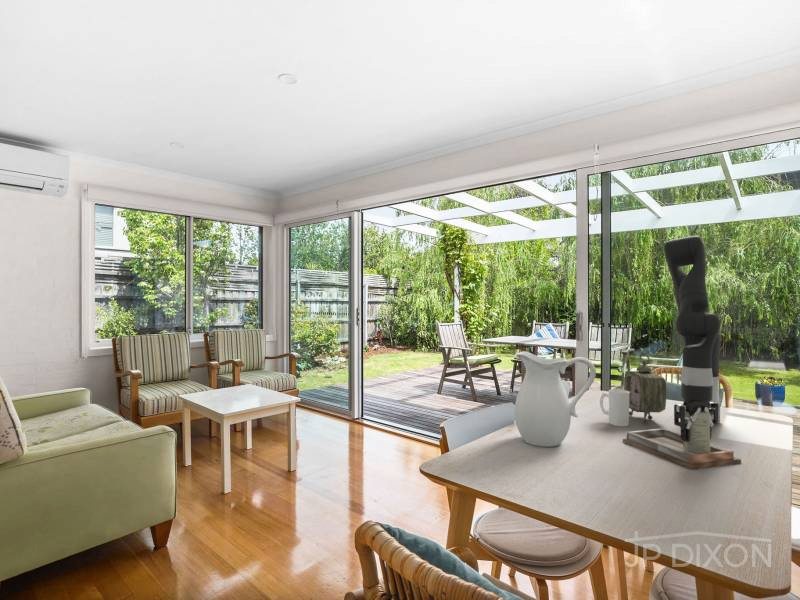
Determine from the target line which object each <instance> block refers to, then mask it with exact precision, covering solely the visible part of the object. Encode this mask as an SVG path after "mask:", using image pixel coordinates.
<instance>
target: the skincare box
mask: <svg viewBox="0 0 800 600" xmlns="http://www.w3.org/2000/svg"><path fill="white" fill-rule="evenodd" d="M685 417H689V418H690V417H691V416H690V414H689V413H688V412H685ZM686 423H687V420H685V424H686ZM689 429H690V442H685V441H683V450H685V451H688V452H691V453H694V454H703V453H710V444H711V439H710V414H709V413H708V412H700V413H699V414H698V416H697V418H696V420H695V422H693V423H692V424H691V426H690V428H689Z"/></svg>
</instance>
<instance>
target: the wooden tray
mask: <svg viewBox="0 0 800 600" xmlns="http://www.w3.org/2000/svg"><path fill="white" fill-rule="evenodd" d="M622 443H625V444H628V445H630V446H633V447H635V448H637V449H639V450H642V451H645V452H647V453H650V454H652V455H655V456H657V457H659V458H661V459H665V460H667V461H670V462H672V463H674V464H676V465H679V466H682V467H683V468H684V467H685V468H687V469H689V470H698V469H705V468H712V467H719V466H727V465H735V464H741V463H742V459H741V458H739V457H737V456H734V451H733V450H732V449H728V448H724V447H722V446H719V445H715V444H712V443H710V453H703V454H694V453H691V452H688V451H685V450H683V441H682V440H681V432H676V431H673V430H670V429H668V428H664V427H663V428H653V429H642V430H641V429H640V430H634V431H633V430H632V431H626V438H622Z"/></svg>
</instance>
